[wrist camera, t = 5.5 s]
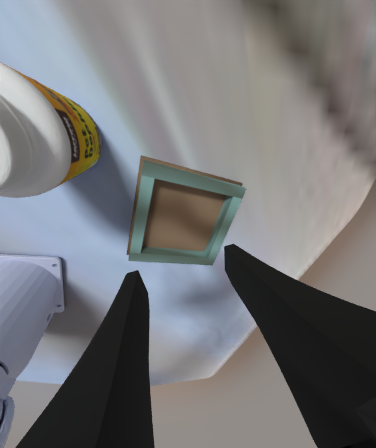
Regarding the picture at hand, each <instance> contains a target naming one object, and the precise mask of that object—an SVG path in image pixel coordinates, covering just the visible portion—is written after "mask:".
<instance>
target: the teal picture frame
mask: <svg viewBox="0 0 376 448" xmlns="http://www.w3.org/2000/svg"><path fill="white" fill-rule="evenodd" d="M242 184H243V183H240V182H236V181H232V180H229V179H225V178H222V177H218V176H214V175H211V174H207V173H203V172H200V171H196V170H192V169H189V168H185V167H181V166H178V165H174V164H170V163H167V162H163V161H160V160H156V159H152V158H149V157H145V156H141V159H140V166H139V173H138V180H137V186H136V193H135V200H134V207H133V214H132V221H131V228H130V235H129V242H128V249H127V255H129V261H142V262H161V263H180V264H199V265H213V263H214V261H215V259H216V256H217V254H218V252H219V250H220V247H221V245H222V243H223V241H224V238H225V236H226V234H227V232H228V229H229V227H230V225H231V223H232V220H233V218H234V216H235V214H236V211H237V209H238V207H239V205H240V202H241V200H242V198H243V196H244V193H245V191H246V188H244V187H242Z"/></svg>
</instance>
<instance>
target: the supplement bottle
mask: <svg viewBox="0 0 376 448" xmlns="http://www.w3.org/2000/svg"><path fill="white" fill-rule="evenodd" d="M101 153H102V138H101V134H100V131H99V129H98V127H97V125H96V123H95V122H94V120H93V119H92V117H91V116H90V115H89V114H88V113H87V112H86V111H85V110H84V109H83V108H82V107H81V106H80V105H78V104H77V103H75V102H74V101H72V100H70V99H69V98H67V97H65V96H63V95H61V94H59V93H57V92H55V91H54V90H52V89H50V88H48V87H46V86H44V85H42V84H41V83H39V82H37V81H36V80H34V79H31V78H30V77H28V76H26V75H24V74H22V73H20V72H18V71H16V70H14V69H12V68H10V67H9V66H7V65H5V64H3V63H1V62H0V196H4V197H14V198H19V197H30V196H36V195H39V194H42V193H45V192H47V191H49V190H52V189H53V188H55V187H57V186H59V185H61V184H62V183H64V182H66V181H68V180H70V179H71V178H73V177H75V176H77V175H79V174H81V173H82V172H84V171H86V170H88V169H90V168H91V167H92V166H94V165H95V164H96V163H97V161H98V160H99V158H100V156H101Z"/></svg>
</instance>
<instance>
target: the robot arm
mask: <svg viewBox="0 0 376 448" xmlns="http://www.w3.org/2000/svg"><path fill="white" fill-rule="evenodd" d="M224 251H225V271H226V273H227V275H228V277H229V280H230V282H231V284H232V285H233V287H234V289H235V290H236V292H237V293H238V295H239V297H240V298H241V300H242V301H243V303H244V304H245V306H246V307H247V309H248V311H249V312H250V314H251V315H252V317H253V318H254V320H255V322H256V323H257V325H258V327H259V328H260V331H261V332H262V334H263V336H264V338H265V340H266V342H267V344H268V346H269V348H270V349H271V351H272V354H273V355H274V357H275V360H276V361H277V363H278V365H279V367H280V369H281V372H282V373H283V375H284V378H285V380H286V382H287V384H288V386H289V388H290V390H291V392H292V394H293V396H294V399H295V401H296V403H297V405H298V407H299V409H300V411H301V414H302V416H303V418H304V420H305V422H306V424H307V427H308V429H309V431H310V434H311V436H312V438H313V440H314V442H315V444H316V445H317V447H318V448H376V311H373V310H370V309H367V308H364V307H361V306H358V305H356V304H353V303H350V302H348V301H344V300H342V299H340V298H337V297H335V296H332V295H330V294H327V293H324V292H322V291H320V290H317V289H315V288H313V287H311V286H308V285H306V284H304V283H302V282H300V281H298V280H295V279H293V278H291V277H289V276H287V275H286V274H284V273H282V272H280V271H278V270H276V269H274V268H272V267H271V266H269V265H267V264H265V263H264V262H262V261H260V260H259V259H257V258H255V257H254V256H252V255H251V254H249V253H247V252H246V251H244V250H243V249H241V248H239V247H238V246H236V245H235V244H231V245H228V246H224ZM55 264H57V265H55ZM64 309H65V305H64V291H63V278H62V265H61V259H60V258H58V257H48V256H29V255H10V254H0V448H4V445H5V443H6V441H7V438H8V435H9V432H10V429H11V425H12V420H13V416H14V407H15V405H14V400H13V399H12V397H10V396H8V394H9V392H10V390H11V388H12V386H13V385H14V383H15V381H16V378H17V377H18V376H19V375H20V374H21V372H22V371H23V370H24V369H25V367H26V366H27V365H28V363H29V361H30V359H31V358H32V356H33V354H34V352H35V350H36V348H37V346H38V344H39V342H40V340H41V338H42V336H43V334H44V332H45V330H46V328H47V326H48V324H49V322H50V320H51V318H52V316H53V314H54V313H61V312H63V311H64ZM16 448H154V437H153V424H152V411H151V397H150V381H149V299H148V292H147V290H146V287H145V285H144V283H143V280H142V278H141V276H140V273H139V271H138V270H137V271H133V272H130V273H127V274H126V276H125V278H124V280H123V283H122V285H121V287H120V289H119V291H118V293H117V295H116V297H115V299H114V301H113V303H112V305H111V307H110V309H109V311H108V313H107V315H106V316H105V318H104V320H103V322H102V323H101V325H100V327H99V329H98V330H97V332H96V334H95V336H94V337H93V339H92V341H91V342H90V344H89V346H88V347H87V349H86V350H85V352H84V353H83V355H82V357H81V358H80V360H79V361H78V363H77V364H76V366H75V367H74V369H73V370H72V372H71V373H70V374H69V376H68V377H67V379H66V380H65V382H64V383H63V385H62V386H61V387H60V389H59V390H58V392H57V393H56V395H55V396H54V398H53V399H52V400H51V401H50V403H49V404H48V406H47V407H46V408H45V410H44V411H43V412H42V414H41V415H40V416H39V417H38V419H37V420H36V422H35V423H34V424H33V425H32V427H31V428H30V429H29V431H28V432H27V433H26V435H25V436H24V437H23V439H22V440H21V441H20V443H19V444H18V445H17V446H16Z"/></svg>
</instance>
